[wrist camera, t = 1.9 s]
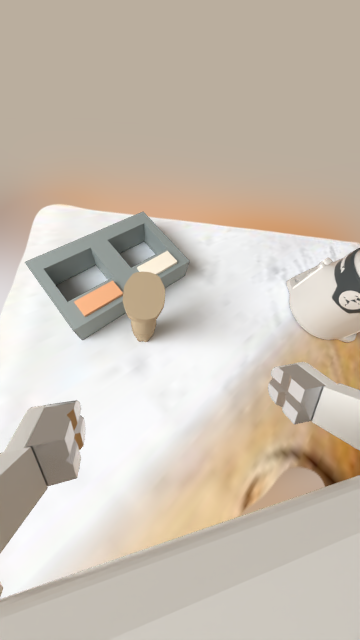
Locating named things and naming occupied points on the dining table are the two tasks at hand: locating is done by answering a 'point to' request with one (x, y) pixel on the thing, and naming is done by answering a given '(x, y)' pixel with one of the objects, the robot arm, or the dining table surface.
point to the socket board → (106, 270)
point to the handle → (143, 303)
